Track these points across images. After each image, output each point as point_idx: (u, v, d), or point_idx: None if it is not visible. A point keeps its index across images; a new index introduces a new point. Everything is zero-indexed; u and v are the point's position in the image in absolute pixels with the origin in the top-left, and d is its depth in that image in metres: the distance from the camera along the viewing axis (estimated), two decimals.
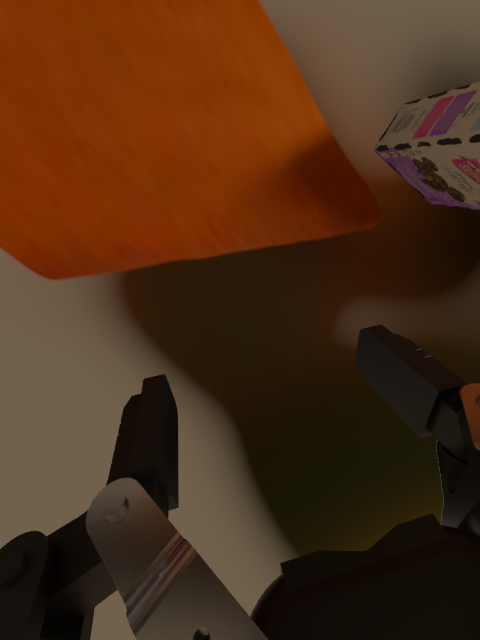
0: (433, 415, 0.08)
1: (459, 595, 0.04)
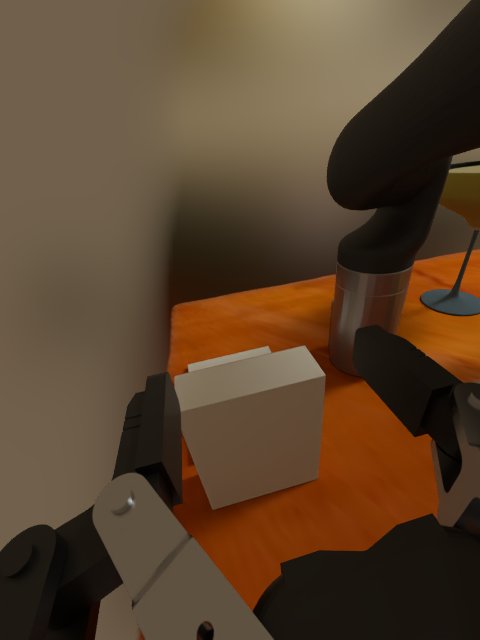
0: (427, 414, 0.08)
1: (459, 595, 0.04)
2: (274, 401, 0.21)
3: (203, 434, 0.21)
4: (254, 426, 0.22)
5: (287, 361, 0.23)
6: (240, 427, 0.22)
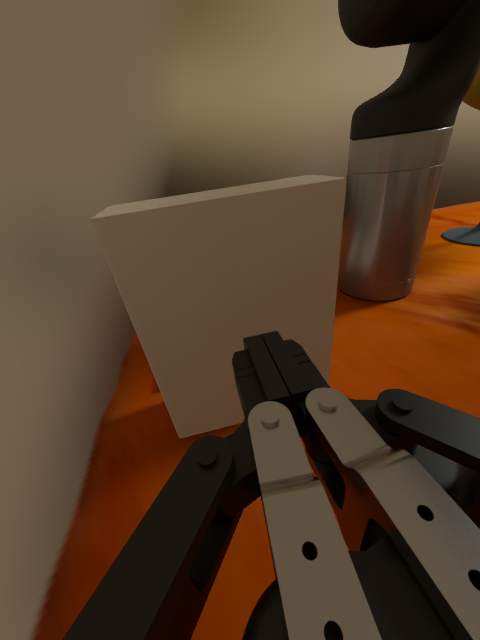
0: (296, 417, 0.08)
1: (459, 595, 0.04)
2: (262, 224, 0.13)
3: (149, 281, 0.13)
4: (232, 277, 0.14)
5: (284, 181, 0.15)
6: (208, 276, 0.14)
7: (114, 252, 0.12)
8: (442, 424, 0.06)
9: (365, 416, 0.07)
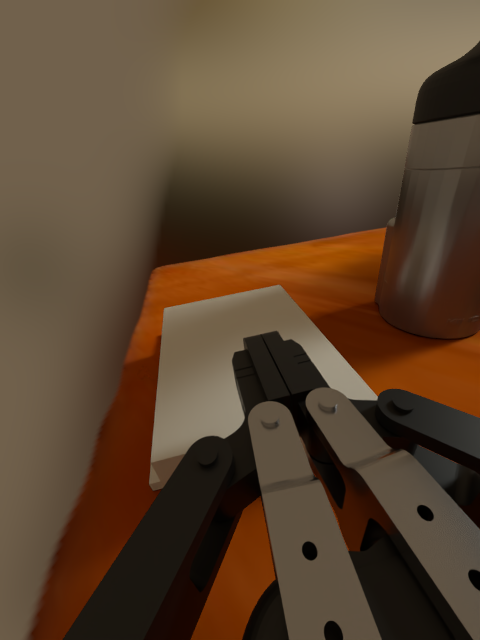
0: (296, 417, 0.08)
1: (459, 595, 0.04)
2: (242, 299, 0.26)
3: (180, 321, 0.23)
4: (228, 315, 0.23)
5: None
6: (213, 316, 0.23)
7: (168, 315, 0.25)
8: (442, 424, 0.06)
9: (365, 416, 0.07)
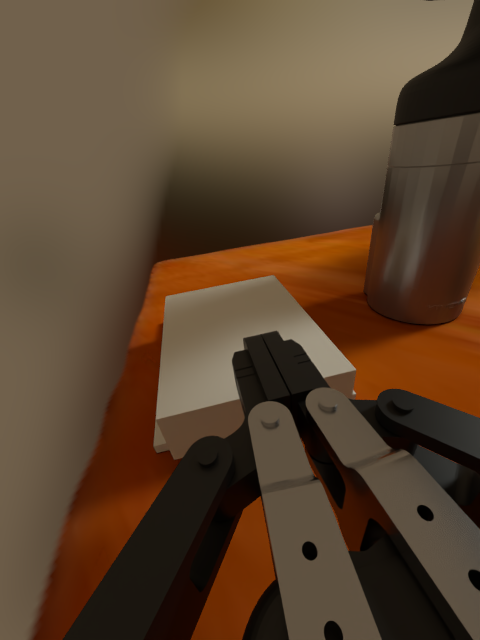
0: (296, 416, 0.08)
1: (459, 595, 0.04)
2: (238, 287, 0.28)
3: (180, 307, 0.25)
4: (224, 301, 0.25)
5: None
6: (211, 302, 0.25)
7: (169, 302, 0.27)
8: (442, 424, 0.06)
9: (365, 416, 0.07)
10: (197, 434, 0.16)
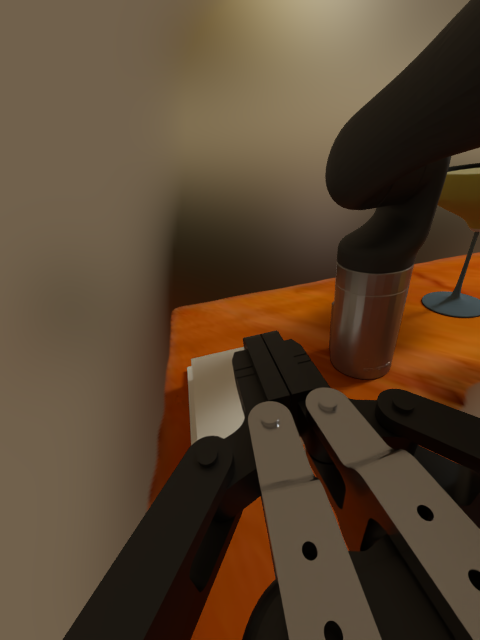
0: (296, 416, 0.08)
1: (459, 595, 0.04)
2: None
3: (202, 370, 0.39)
4: (231, 366, 0.39)
5: None
6: (222, 366, 0.39)
7: (194, 364, 0.40)
8: (442, 424, 0.06)
9: (365, 416, 0.07)
10: None
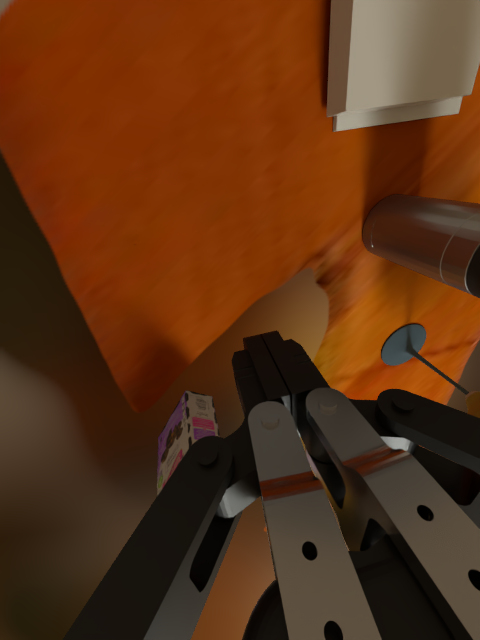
0: (296, 417, 0.08)
1: (459, 595, 0.04)
2: (473, 43, 0.28)
3: None
4: (459, 19, 0.27)
5: None
6: (466, 1, 0.26)
7: None
8: (442, 424, 0.06)
9: (365, 416, 0.07)
10: None
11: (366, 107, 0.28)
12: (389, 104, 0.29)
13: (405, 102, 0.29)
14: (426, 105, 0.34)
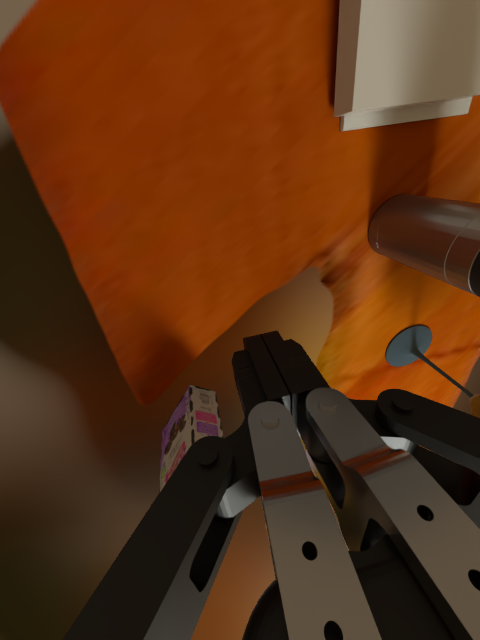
0: (296, 417, 0.08)
1: (459, 595, 0.04)
2: None
3: None
4: (468, 20, 0.27)
5: None
6: (475, 1, 0.26)
7: None
8: (442, 424, 0.06)
9: (365, 416, 0.07)
10: None
11: (373, 107, 0.29)
12: (396, 104, 0.29)
13: (412, 102, 0.29)
14: (435, 105, 0.34)
